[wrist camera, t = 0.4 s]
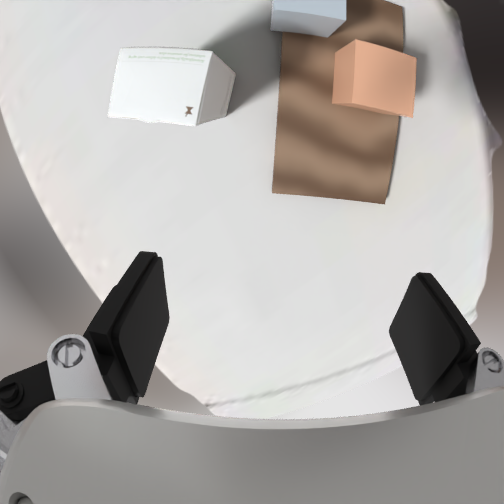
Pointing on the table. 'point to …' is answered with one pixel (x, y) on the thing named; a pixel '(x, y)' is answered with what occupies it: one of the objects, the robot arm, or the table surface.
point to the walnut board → (334, 113)
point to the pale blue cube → (308, 16)
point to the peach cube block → (374, 79)
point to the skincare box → (170, 85)
